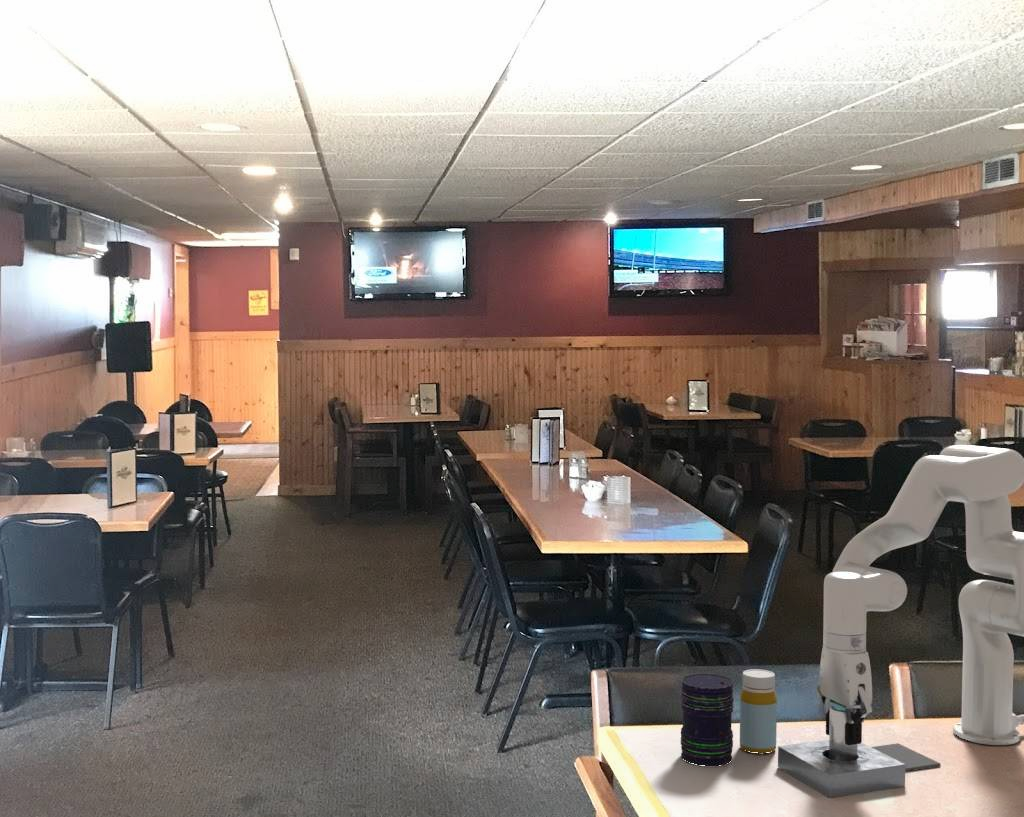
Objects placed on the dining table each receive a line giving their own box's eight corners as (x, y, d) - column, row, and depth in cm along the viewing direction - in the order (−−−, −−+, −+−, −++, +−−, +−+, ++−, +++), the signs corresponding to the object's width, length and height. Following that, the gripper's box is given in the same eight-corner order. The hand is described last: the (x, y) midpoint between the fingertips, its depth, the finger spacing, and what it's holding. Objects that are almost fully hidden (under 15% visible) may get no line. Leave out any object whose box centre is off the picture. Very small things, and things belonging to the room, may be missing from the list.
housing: (849, 757, 224) (849, 736, 224) (904, 786, 209) (905, 764, 209) (777, 767, 218) (778, 746, 218) (829, 797, 204) (830, 775, 203)
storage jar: (672, 761, 221) (673, 683, 221) (690, 746, 230) (690, 671, 229) (723, 770, 217) (724, 691, 216) (739, 754, 225) (740, 678, 225)
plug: (845, 761, 217) (846, 697, 217) (863, 770, 213) (863, 705, 212) (823, 764, 215) (824, 700, 215) (840, 773, 211) (840, 708, 210)
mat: (898, 746, 231) (898, 743, 231) (940, 766, 219) (940, 763, 219) (847, 753, 226) (847, 750, 226) (887, 774, 215) (887, 771, 215)
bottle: (776, 756, 224) (777, 679, 224) (739, 753, 226) (740, 677, 225) (775, 744, 231) (776, 669, 231) (739, 742, 233) (740, 667, 232)
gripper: (892, 650, 206) (890, 751, 207) (833, 628, 222) (832, 722, 223) (856, 654, 204) (855, 756, 204) (799, 632, 219) (798, 727, 220)
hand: (843, 738), depth 214 cm, fingers closed on plug, 5 cm apart
